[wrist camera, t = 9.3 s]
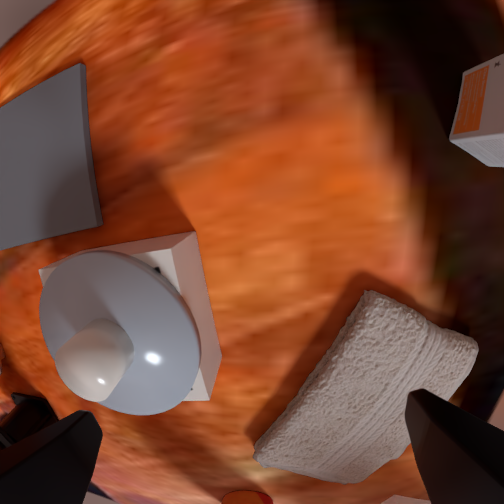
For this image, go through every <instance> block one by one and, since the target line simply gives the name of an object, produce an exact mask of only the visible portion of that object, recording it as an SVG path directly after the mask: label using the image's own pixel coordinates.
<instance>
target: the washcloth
mask: <svg viewBox="0 0 504 504" xmlns="http://www.w3.org/2000/svg"><path fill="white" fill-rule="evenodd" d="M347 319H348V320H347ZM346 320H347V322H346V324H345V326H343V327H342V328H341V329H340V332H339V334H338V336H337V337H336V339H335V340H334V342H333V344H332V346H331V347H330V349H328V350H327V352H326V354H325V355H323V358H322V359H321V360H320V361H319V362H318V363H317V364H316V368H315V369H314V370H313V371H312V372H311V373H310V374H309V376H308V377H307V378H306V379H307V380H306V381H305V383H304V384H303V386H302V387H301V388H300V390H299V391H298V394H297V396H296V397H294V398H293V400H292V401H291V402H290V403H289V404H288V405H287V408H286V410H285V411H284V412H283V413H282V414H281V416H279V417H278V418H277V420H276V421H275V422H273V424H272V425H271V426H270V428H269V429H268V430H267V431H266V432H265V434H263V435H262V436H261V438H260V439H259V440H257V441H256V443H255V445H254V449H255V452H254V454H253V458H254V459H255V460H256V461H257V462H259V463H260V464H261V466H262V467H264V468H267V467H275V468H278V469H282V470H287V471H291V472H294V473H297V474H301V475H306V476H309V477H313V478H317V479H320V480H324V481H330V482H336V483H342V484H347V483H359V482H362V481H363V480H365V479H366V478H367V477H368V476H369V475H370V474H372V473H373V472H375V471H376V470H377V469H378V468H380V467H381V466H382V465H383V464H385V463H387V462H388V461H390V460H391V459H397V458H398V457H399V456H401V454H402V453H403V452H404V450H405V449H406V447H407V446H408V445H409V444H410V443H411V441H410V437H409V433H408V429H407V426H406V422H405V409H406V403H407V396H408V394H409V392H410V391H413V390H417V389H420V388H424V389H426V390H428V391H430V392H432V393H433V394H435V395H437V396H439V397H441V398H442V399H444V400H446V401H448V400H449V398H450V397H451V396H452V395H453V393H454V392H455V391H456V389H457V388H458V387H459V386H460V384H461V383H462V382H463V380H464V379H465V378H466V377H467V376H468V374H469V373H470V371H471V369H472V366H473V364H474V362H475V359H476V356H477V353H478V350H479V349H478V345H477V342H476V341H473V339H472V338H471V337H468V336H465V335H463V334H460V333H457V332H456V331H453V330H448V329H447V328H446V329H442V328H440V327H438V326H437V325H435V324H433V323H432V322H431V321H428V320H426V318H425V317H424V316H423V315H421V314H420V313H418V312H417V311H415V310H414V309H412V308H409V307H407V305H405V304H401V303H399V302H397V301H396V300H395V299H391V298H390V297H387V296H386V295H383V294H380V293H377V292H376V291H373V290H370V291H366V290H364V294H363V296H361V298H360V301H359V302H358V303H357V306H356V307H355V309H354V310H353V311H352V313H351V315H350V316H348V317H347V318H346Z"/></svg>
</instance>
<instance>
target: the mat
mask: <svg viewBox="0 0 504 504" xmlns="http://www.w3.org/2000/svg"><path fill="white" fill-rule="evenodd" d="M101 225H103V220H102V215H101V210H100V204H99V198H98V192H97V186H96V180H95V173H94V166H93V158H92V150H91V141H90V131H89V120H88V107H87V89H86V66H85V65H83V64H81V63H79V64H77V65H75V66H72V67H70V68H68V69H66V70H64V71H62V72H60V73H58V74H56V75H55V76H53V77H51V78H49V79H47V80H45V81H43V82H42V83H40V84H38V85H36V86H35V87H33V88H31V89H29V90H28V91H26V92H24V93H23V94H21V95H19V96H18V97H16V98H15V99H13V100H12V101H10V102H8V103H7V104H5V105H4V106H2V107H1V108H0V250H3V249H7V248H11V247H14V246H18V245H22V244H26V243H30V242H34V241H38V240H42V239H46V238H50V237H54V236H58V235H62V234H67V233H71V232H75V231H80V230H84V229H88V228H93V227H98V226H101Z"/></svg>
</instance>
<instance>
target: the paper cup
mask: <svg viewBox="0 0 504 504" xmlns="http://www.w3.org/2000/svg"><path fill="white" fill-rule="evenodd" d="M221 504H273V500H272V499H271V498H270V497H269V496H268V495H266V494H263V493H260V492H256V491H248V490H241V491H234V492H230V493H228V494H226V495H225V496H224V498H223V500H222V503H221Z"/></svg>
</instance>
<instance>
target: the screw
mask: <svg viewBox="0 0 504 504" xmlns="http://www.w3.org/2000/svg"><path fill="white" fill-rule="evenodd" d="M4 357H5V354H4V350H3V347H2V345H1V344H0V375H1V374H2V364H1V360H2V359H3V358H4Z"/></svg>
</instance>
